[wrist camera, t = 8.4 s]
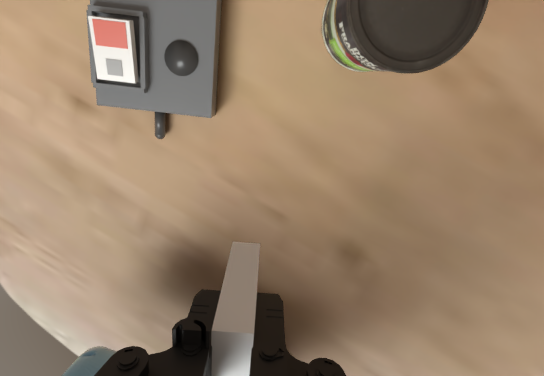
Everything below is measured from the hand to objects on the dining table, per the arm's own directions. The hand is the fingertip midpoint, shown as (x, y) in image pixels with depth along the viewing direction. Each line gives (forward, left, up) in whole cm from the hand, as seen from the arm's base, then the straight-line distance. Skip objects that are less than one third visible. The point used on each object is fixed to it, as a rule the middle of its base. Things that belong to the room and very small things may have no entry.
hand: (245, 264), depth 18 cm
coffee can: (+16, -10, -26) cm, 32 cm away
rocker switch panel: (+15, +13, -26) cm, 33 cm away
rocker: (+10, +16, -21) cm, 29 cm away
